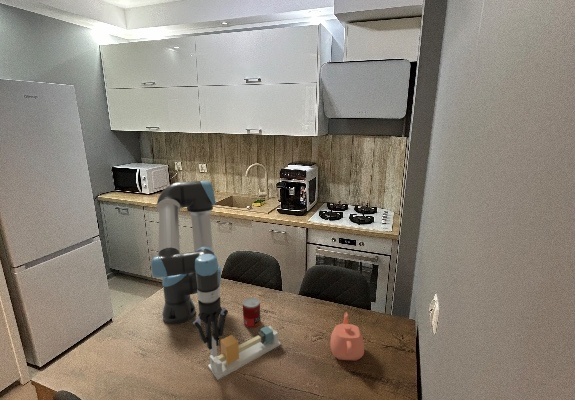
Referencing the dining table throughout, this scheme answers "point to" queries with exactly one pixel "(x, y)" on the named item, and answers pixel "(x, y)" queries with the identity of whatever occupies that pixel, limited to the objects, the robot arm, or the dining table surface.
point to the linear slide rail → (246, 352)
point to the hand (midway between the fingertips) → (213, 354)
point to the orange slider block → (230, 348)
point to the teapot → (347, 341)
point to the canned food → (251, 312)
